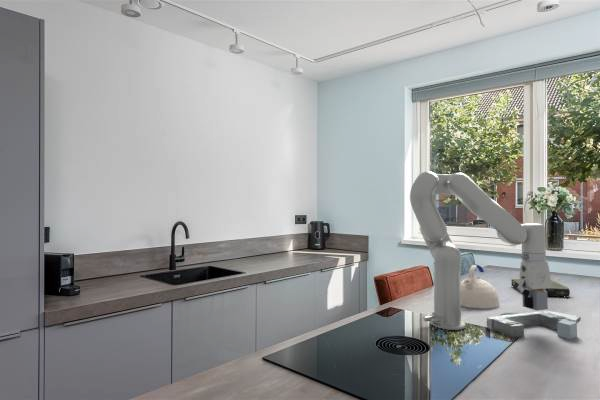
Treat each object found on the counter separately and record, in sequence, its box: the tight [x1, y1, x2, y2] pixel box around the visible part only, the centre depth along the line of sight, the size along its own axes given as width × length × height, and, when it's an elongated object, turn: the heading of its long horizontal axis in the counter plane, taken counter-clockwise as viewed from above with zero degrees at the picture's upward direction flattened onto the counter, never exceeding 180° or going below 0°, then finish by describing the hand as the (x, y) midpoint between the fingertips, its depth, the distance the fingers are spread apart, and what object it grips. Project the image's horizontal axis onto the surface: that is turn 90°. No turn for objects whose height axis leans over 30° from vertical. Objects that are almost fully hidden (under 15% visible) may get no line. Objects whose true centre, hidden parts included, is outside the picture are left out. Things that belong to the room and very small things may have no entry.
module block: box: [522, 289, 549, 312], centre depth 142 cm, size 5×6×7 cm
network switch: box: [511, 278, 571, 298], centre depth 204 cm, size 23×24×5 cm
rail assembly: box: [486, 310, 571, 339], centre depth 144 cm, size 28×11×4 cm, turn 107°
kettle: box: [460, 264, 500, 310], centre depth 182 cm, size 20×21×18 cm
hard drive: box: [544, 309, 581, 323], centre depth 159 cm, size 2×8×12 cm
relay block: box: [556, 320, 578, 340], centre depth 136 cm, size 5×4×5 cm
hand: (534, 306), depth 142 cm, fingers closed on module block, 5 cm apart
